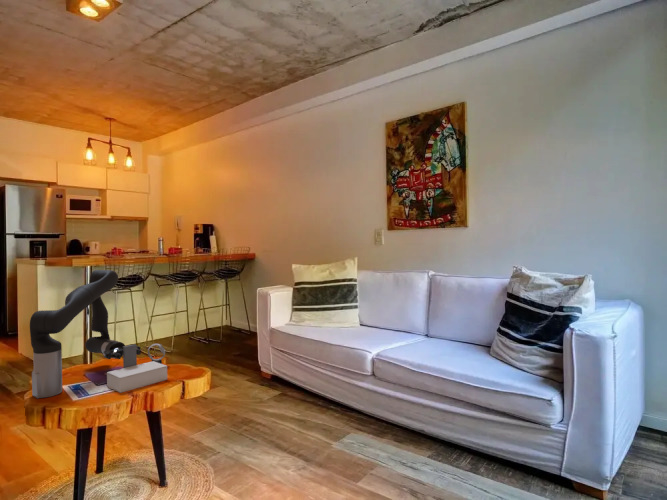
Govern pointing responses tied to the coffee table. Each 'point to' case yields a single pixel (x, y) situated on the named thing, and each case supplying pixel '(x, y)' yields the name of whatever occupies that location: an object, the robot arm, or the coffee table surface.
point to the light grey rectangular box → (136, 376)
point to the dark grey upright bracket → (129, 356)
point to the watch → (160, 350)
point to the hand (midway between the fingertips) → (130, 354)
